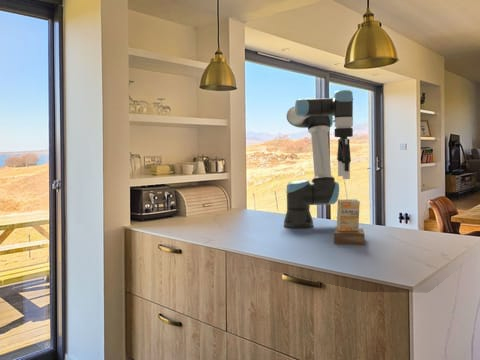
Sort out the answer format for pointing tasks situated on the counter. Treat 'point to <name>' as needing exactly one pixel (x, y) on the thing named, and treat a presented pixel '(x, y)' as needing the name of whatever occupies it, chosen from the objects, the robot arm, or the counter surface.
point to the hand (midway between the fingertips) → (343, 177)
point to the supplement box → (348, 215)
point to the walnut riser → (349, 237)
